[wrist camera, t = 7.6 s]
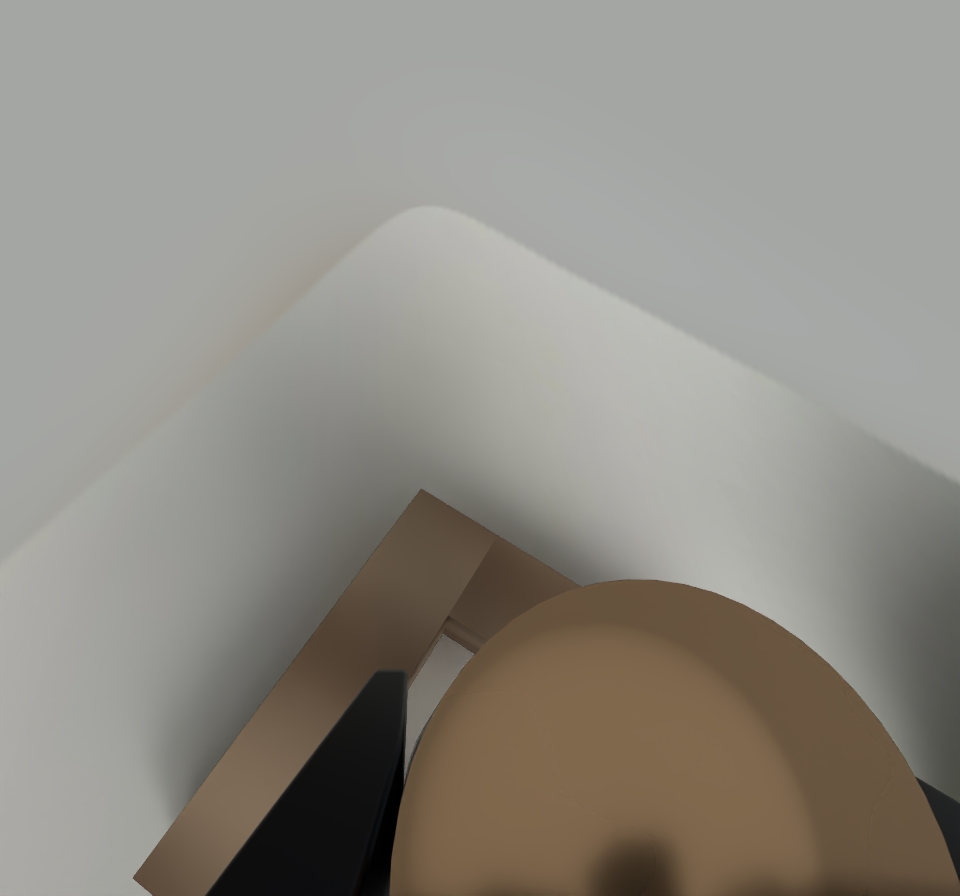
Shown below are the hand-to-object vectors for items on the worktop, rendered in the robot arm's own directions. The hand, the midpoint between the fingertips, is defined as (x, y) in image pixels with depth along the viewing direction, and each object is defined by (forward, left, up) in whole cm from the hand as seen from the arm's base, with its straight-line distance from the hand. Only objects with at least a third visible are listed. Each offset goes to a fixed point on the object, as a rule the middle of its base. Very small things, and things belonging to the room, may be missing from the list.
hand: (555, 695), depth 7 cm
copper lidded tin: (-1, -1, -7) cm, 7 cm away
